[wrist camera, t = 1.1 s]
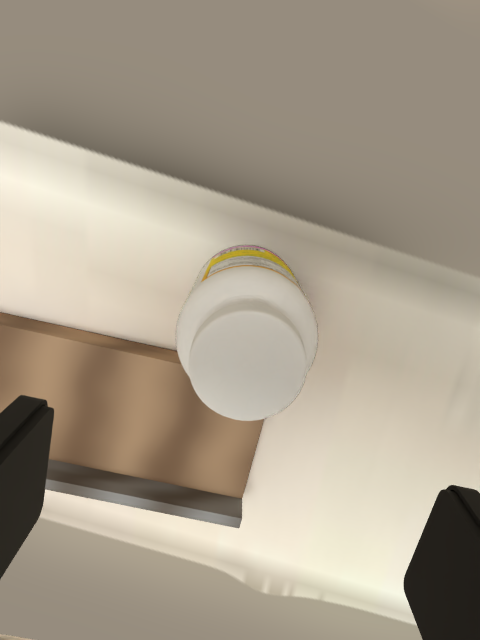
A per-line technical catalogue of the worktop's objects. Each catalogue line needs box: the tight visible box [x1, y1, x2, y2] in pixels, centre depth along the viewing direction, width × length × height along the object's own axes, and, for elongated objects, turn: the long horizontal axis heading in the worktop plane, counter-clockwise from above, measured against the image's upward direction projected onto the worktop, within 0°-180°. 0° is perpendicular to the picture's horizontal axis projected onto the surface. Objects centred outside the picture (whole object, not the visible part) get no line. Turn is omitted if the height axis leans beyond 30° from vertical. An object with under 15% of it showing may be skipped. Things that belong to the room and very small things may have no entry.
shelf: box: [0, 312, 264, 528], centre depth 31 cm, size 22×10×4 cm, turn 77°
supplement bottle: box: [176, 245, 318, 421], centre depth 24 cm, size 7×7×13 cm
